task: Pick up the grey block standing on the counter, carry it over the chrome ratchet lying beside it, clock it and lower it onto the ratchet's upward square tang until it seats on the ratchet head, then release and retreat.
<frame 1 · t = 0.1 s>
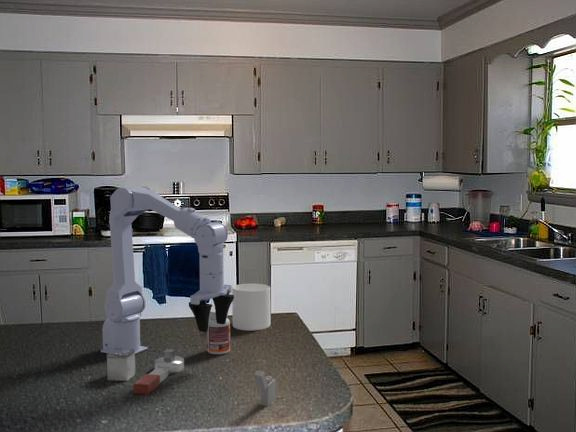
hand: (212, 327, 144), 10 cm above the countertop, fingers open, 7 cm apart
lighter: (265, 405, 123), on the countertop
white cylinder: (251, 326, 183), on the countertop
pill bottle: (218, 352, 158), on the countertop
ratchet: (169, 369, 144), on the countertop
grey block: (121, 376, 139), on the countertop
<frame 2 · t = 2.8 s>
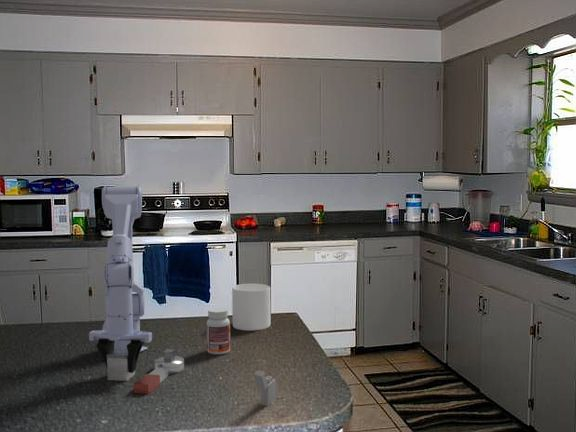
hand: (121, 370, 139), 1 cm above the countertop, fingers closed on grey block, 5 cm apart
grey block: (121, 376, 139), on the countertop, touching gripper
everything else where it was.
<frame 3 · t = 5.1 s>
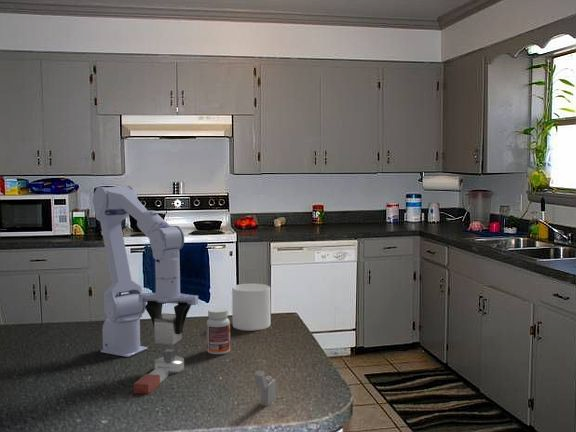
hand: (168, 332, 143), 9 cm above the countertop, fingers closed on grey block, 5 cm apart
grey block: (168, 340, 143), point 7 cm above the countertop, touching gripper
everything else where it was.
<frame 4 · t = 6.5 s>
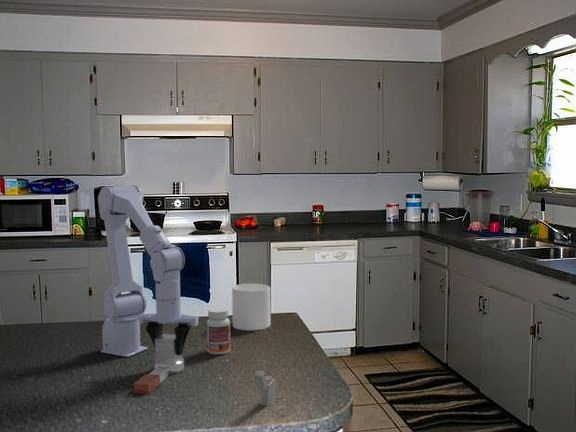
hand: (169, 353, 143), 4 cm above the countertop, fingers closed on grey block, 5 cm apart
grey block: (168, 360, 143), point 2 cm above the countertop, touching gripper, ratchet
everything else where it was.
when the fingers open (4 cm above the countertop, at t = 7.4 s): grey block stays where it is, resting on ratchet.
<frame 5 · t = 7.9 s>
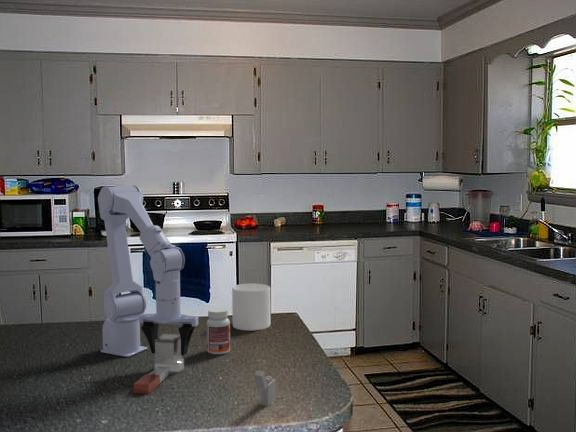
hand: (169, 353, 143), 4 cm above the countertop, fingers open, 7 cm apart
grey block: (168, 360, 143), point 2 cm above the countertop, touching ratchet
everything else where it was.
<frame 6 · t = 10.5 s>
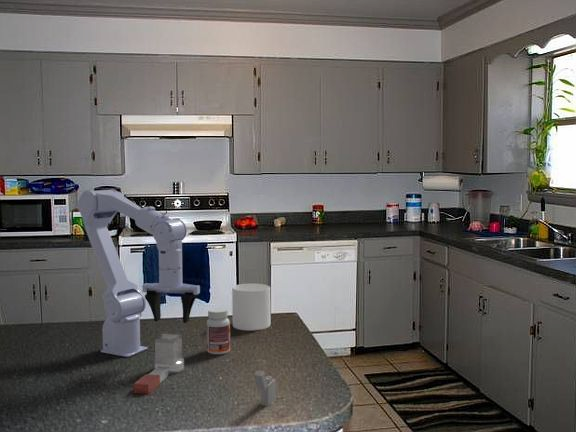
hand: (171, 321, 149), 10 cm above the countertop, fingers open, 7 cm apart
nothing on the countertop moved.
at the end: grey block 0.3 cm off-centre on the ratchet, point 2.2 cm above the ratchet's base; grey block tilted 0°; the gripper is holding nothing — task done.
